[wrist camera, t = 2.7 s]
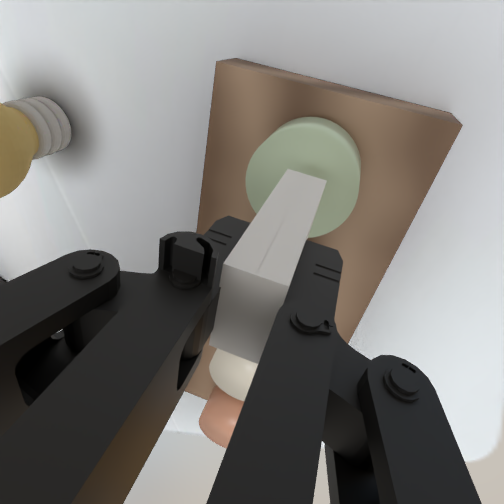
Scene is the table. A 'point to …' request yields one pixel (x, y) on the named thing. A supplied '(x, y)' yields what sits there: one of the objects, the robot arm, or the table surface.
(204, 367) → the button board
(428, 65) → the table surface
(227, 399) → the terracotta button
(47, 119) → the light bulb
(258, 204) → the sage button
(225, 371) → the cream button
